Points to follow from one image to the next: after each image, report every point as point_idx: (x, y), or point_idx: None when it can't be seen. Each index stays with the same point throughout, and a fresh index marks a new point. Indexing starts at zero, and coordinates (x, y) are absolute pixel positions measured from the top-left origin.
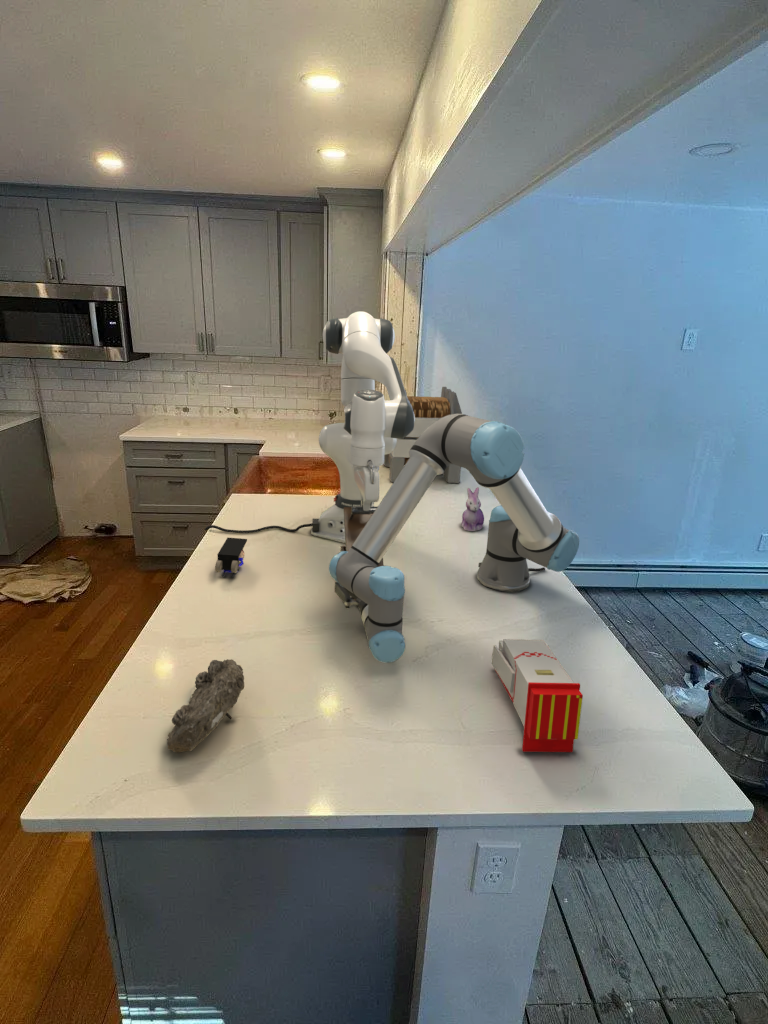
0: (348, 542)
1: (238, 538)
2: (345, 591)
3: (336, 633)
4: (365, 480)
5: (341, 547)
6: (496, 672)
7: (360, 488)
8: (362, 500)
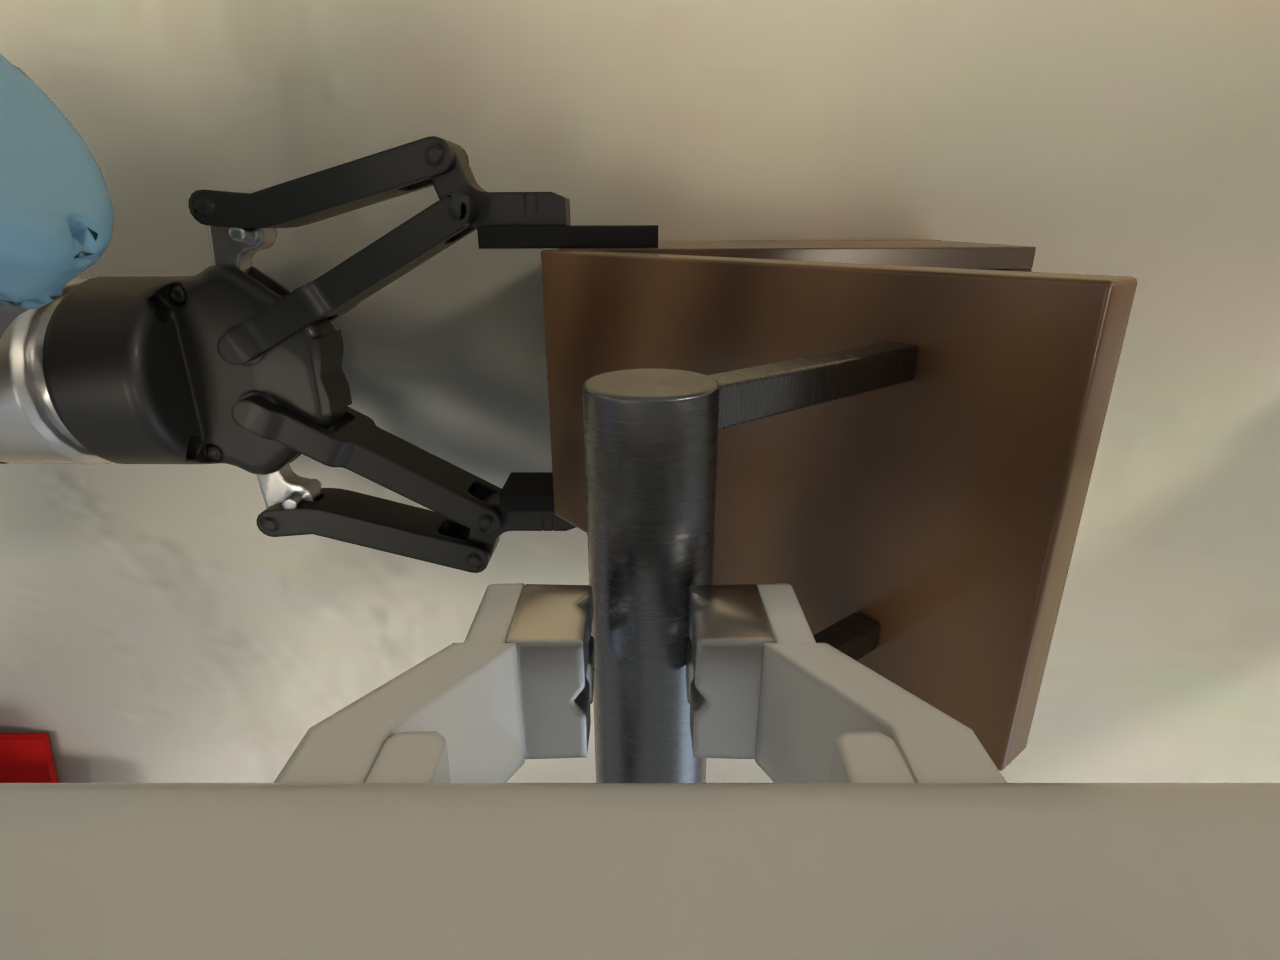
0: (678, 283)
1: None
2: (303, 203)
3: (246, 143)
4: None
5: (1002, 252)
6: (22, 734)
7: (196, 934)
8: (721, 655)
